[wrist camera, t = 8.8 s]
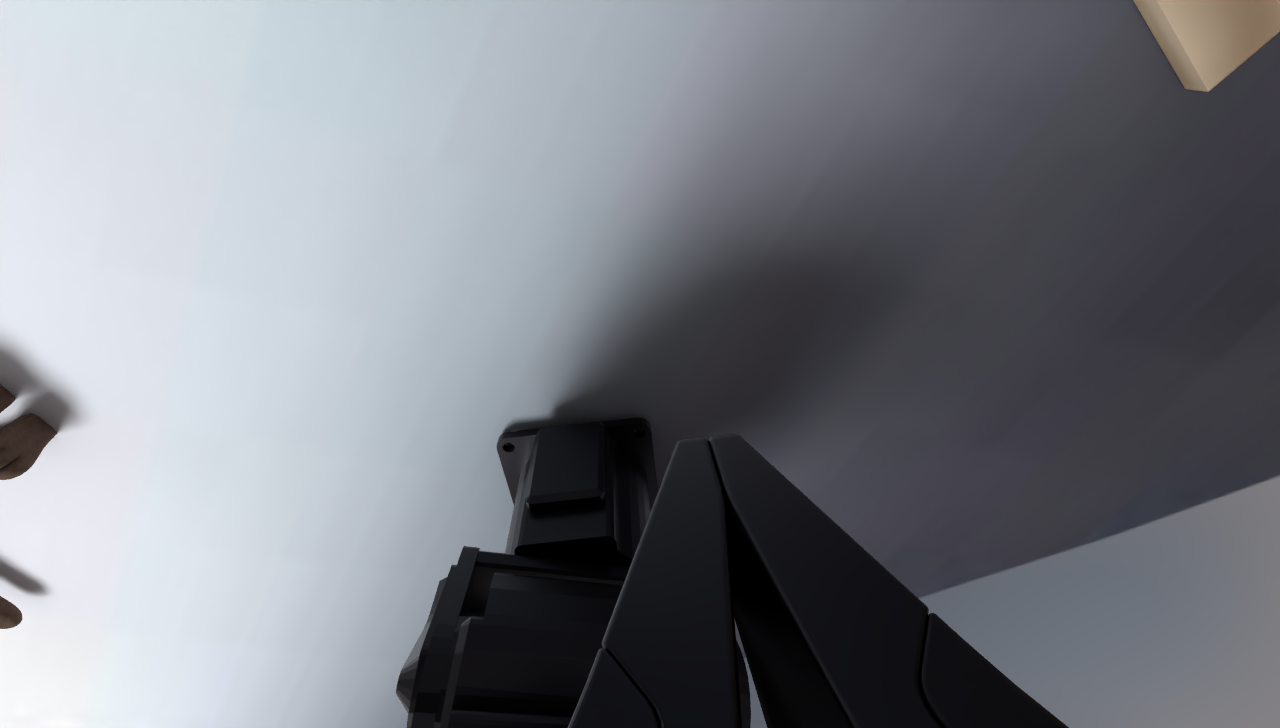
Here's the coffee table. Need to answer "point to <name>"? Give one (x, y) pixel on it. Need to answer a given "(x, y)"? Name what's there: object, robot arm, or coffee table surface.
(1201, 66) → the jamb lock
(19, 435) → the dark brown branching piece
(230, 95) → the coffee table surface
